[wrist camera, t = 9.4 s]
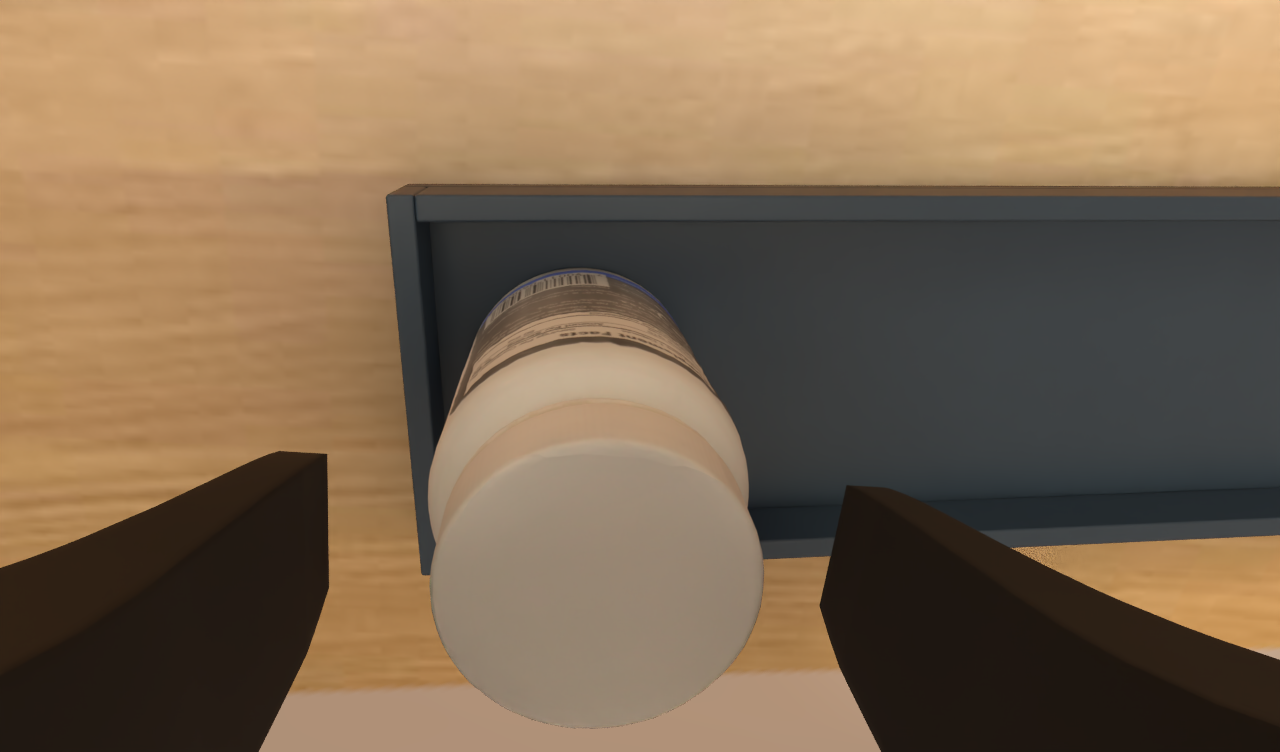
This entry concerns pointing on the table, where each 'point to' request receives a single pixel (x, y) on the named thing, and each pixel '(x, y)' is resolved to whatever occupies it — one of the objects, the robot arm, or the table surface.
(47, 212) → the table surface
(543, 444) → the pill bottle
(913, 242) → the tray
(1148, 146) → the table surface
